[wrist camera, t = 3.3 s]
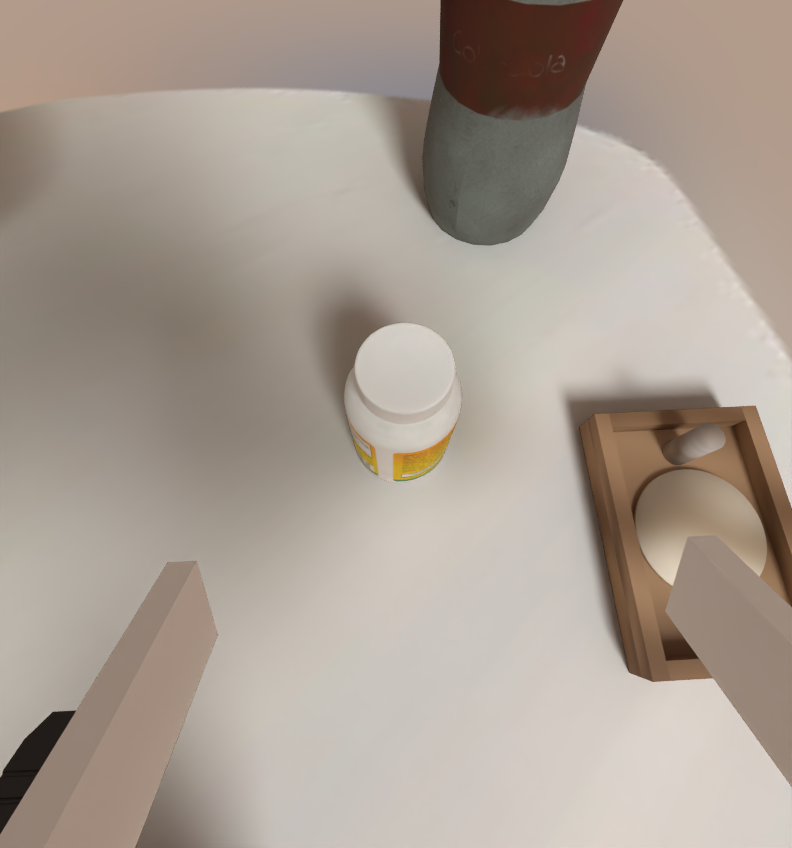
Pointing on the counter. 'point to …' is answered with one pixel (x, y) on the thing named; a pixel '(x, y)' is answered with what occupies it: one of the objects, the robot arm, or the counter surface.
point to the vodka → (506, 109)
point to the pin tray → (681, 515)
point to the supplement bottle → (402, 401)
